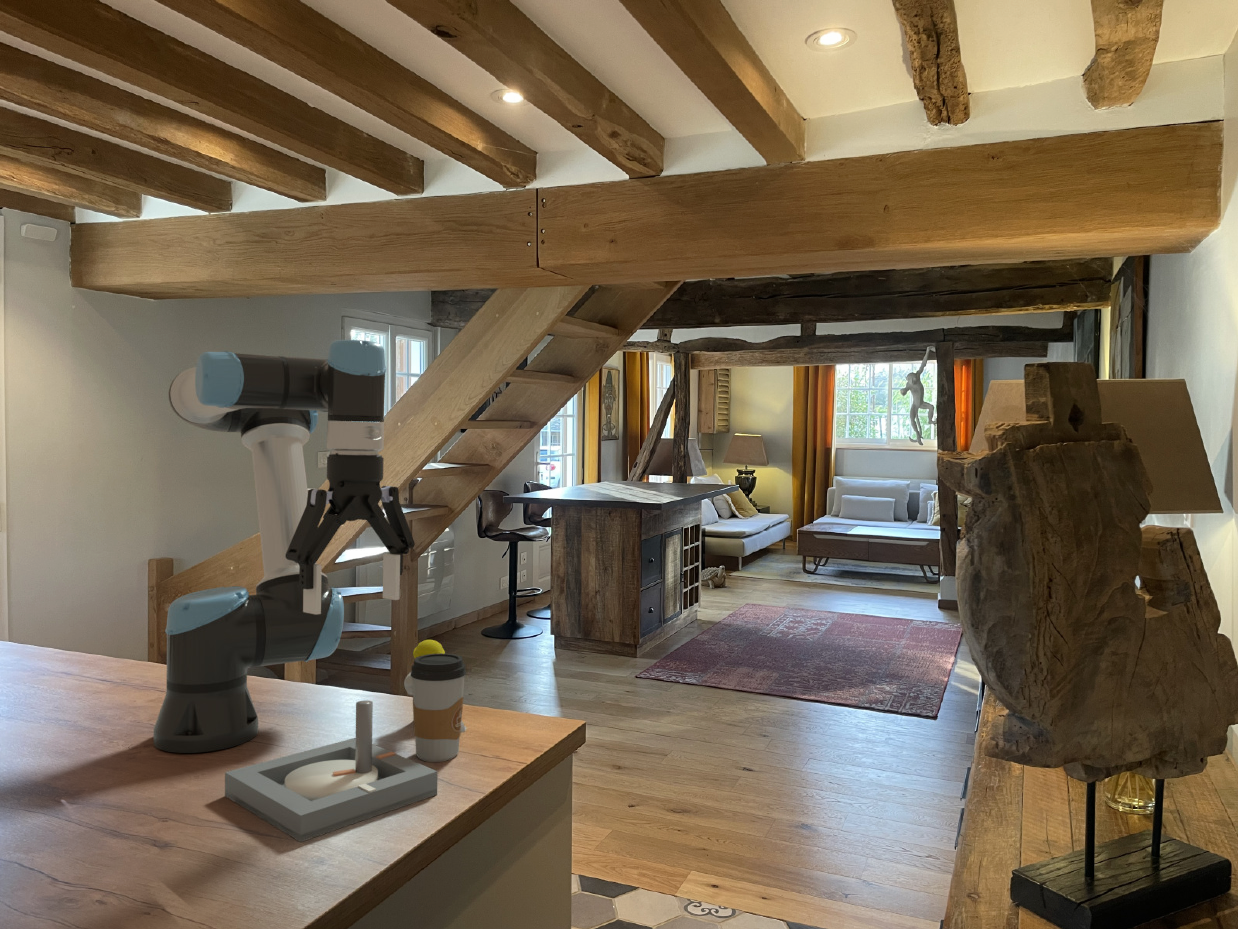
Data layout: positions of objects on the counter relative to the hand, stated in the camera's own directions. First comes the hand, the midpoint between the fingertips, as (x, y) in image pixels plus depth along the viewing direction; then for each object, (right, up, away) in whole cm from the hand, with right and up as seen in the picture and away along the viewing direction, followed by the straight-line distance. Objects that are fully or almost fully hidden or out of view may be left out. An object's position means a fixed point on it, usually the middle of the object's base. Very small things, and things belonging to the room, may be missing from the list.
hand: (353, 605), depth 123 cm
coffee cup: (+9, -25, +12) cm, 30 cm away
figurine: (+6, -25, +24) cm, 35 cm away
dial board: (-2, -25, -3) cm, 25 cm away
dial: (-2, -24, -3) cm, 24 cm away
